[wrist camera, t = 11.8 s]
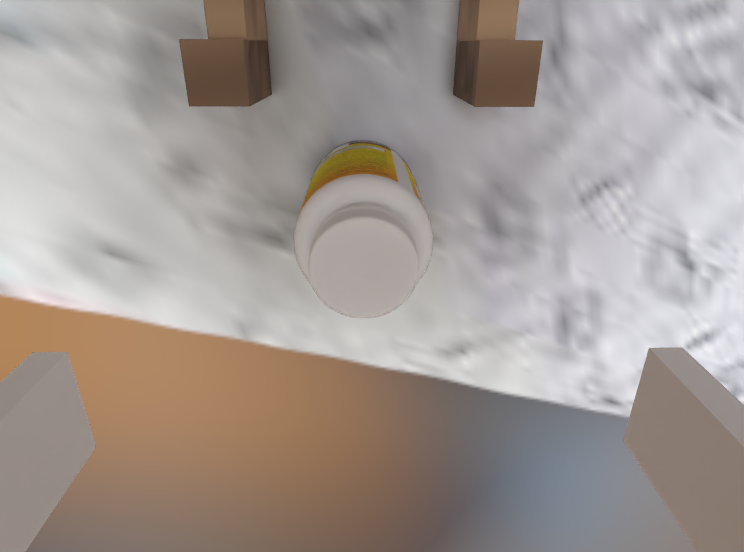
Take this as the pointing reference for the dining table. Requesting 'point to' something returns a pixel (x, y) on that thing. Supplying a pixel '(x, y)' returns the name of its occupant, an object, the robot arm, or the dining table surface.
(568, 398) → the dining table surface
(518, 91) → the walnut channel
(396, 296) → the supplement bottle
